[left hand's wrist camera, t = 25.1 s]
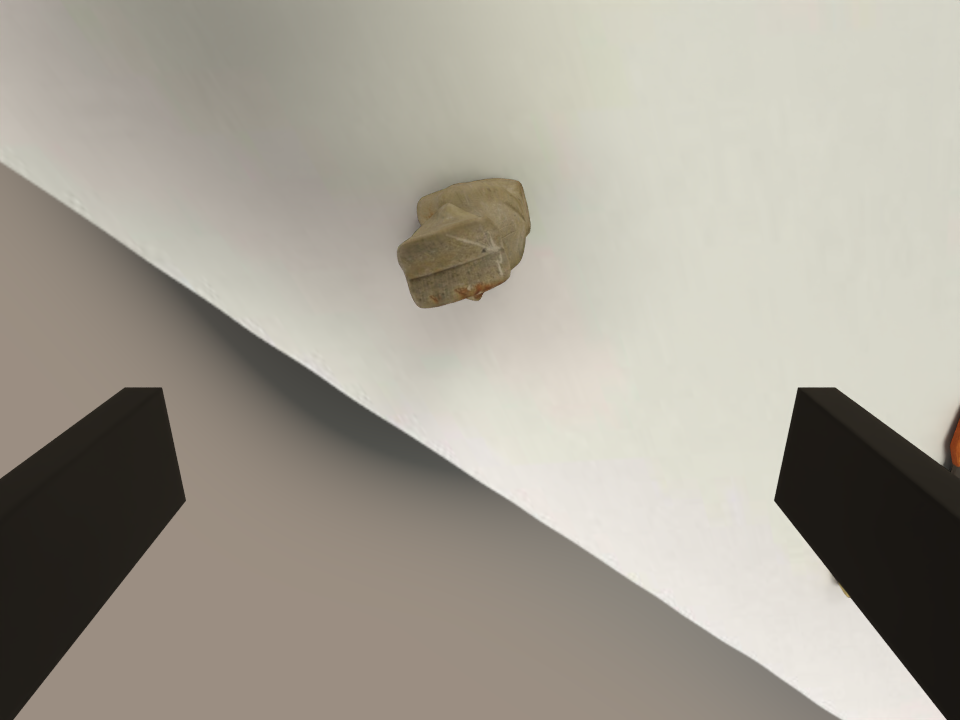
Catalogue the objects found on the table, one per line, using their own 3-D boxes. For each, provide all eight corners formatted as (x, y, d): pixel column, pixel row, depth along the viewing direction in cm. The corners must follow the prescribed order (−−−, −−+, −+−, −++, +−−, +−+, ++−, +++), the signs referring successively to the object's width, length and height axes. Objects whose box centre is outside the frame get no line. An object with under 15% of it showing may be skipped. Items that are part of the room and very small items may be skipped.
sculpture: (411, 184, 40) (375, 214, 26) (516, 158, 40) (535, 175, 26) (433, 267, 42) (410, 335, 28) (532, 244, 42) (559, 302, 28)
